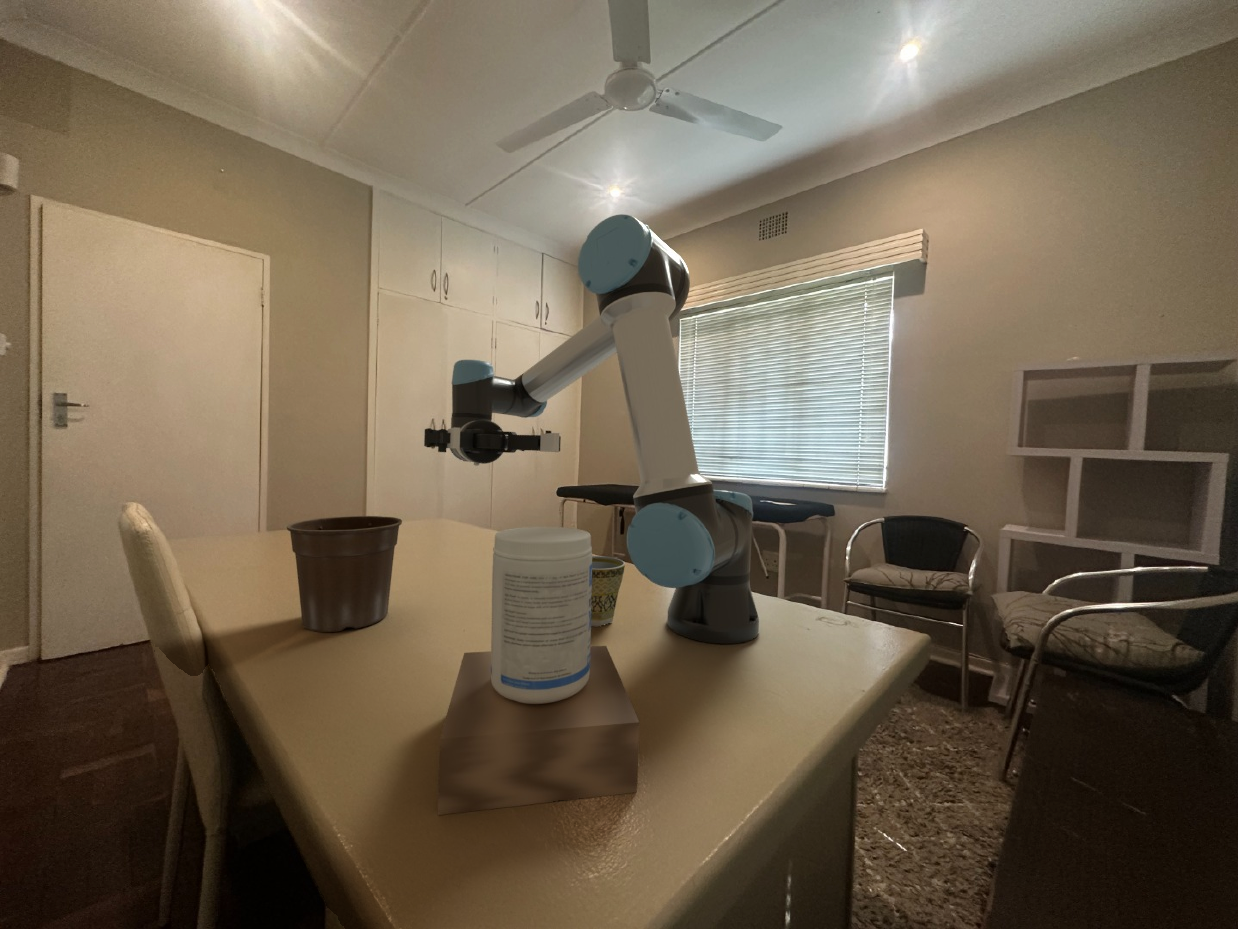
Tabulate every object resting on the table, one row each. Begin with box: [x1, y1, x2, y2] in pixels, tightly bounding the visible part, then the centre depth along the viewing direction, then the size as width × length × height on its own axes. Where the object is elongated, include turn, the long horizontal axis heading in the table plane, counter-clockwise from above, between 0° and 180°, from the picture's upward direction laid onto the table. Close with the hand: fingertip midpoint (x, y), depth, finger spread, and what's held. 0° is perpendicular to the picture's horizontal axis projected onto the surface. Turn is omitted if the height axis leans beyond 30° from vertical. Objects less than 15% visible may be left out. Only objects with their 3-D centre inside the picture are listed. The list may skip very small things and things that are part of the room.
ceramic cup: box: [591, 555, 626, 627], centre depth 82 cm, size 13×10×10 cm
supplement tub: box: [490, 526, 593, 704], centre depth 46 cm, size 10×10×15 cm
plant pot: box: [286, 515, 403, 633], centre depth 77 cm, size 16×16×16 cm
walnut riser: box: [437, 645, 640, 816], centre depth 46 cm, size 16×16×6 cm
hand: (509, 440), depth 64 cm, fingers open, 13 cm apart
